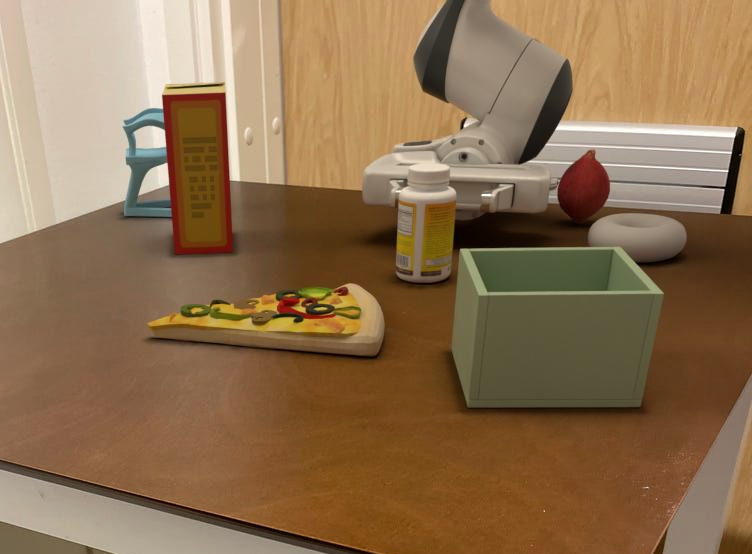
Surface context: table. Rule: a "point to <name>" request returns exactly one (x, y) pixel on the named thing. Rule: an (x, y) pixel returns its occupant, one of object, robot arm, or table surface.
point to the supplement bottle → (426, 224)
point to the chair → (144, 165)
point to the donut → (639, 235)
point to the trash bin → (553, 327)
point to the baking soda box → (198, 167)
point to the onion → (583, 188)
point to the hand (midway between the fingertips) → (441, 201)
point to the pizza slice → (285, 321)
